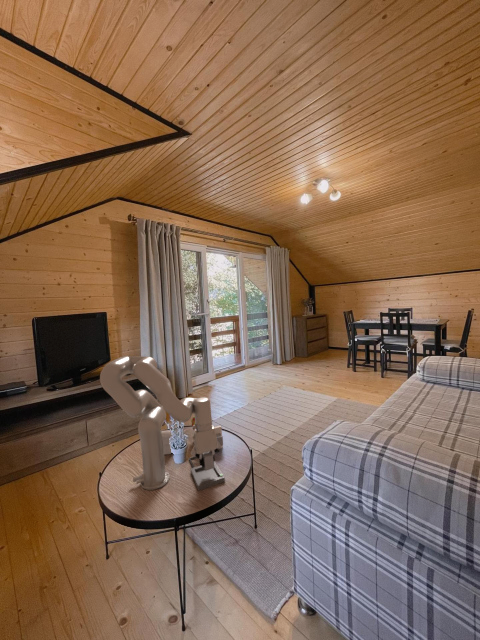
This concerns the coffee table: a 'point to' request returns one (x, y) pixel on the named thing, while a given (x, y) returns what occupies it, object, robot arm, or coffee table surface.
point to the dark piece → (197, 457)
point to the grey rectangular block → (208, 460)
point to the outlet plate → (219, 435)
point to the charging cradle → (207, 476)
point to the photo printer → (166, 441)
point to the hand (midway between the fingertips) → (207, 463)
